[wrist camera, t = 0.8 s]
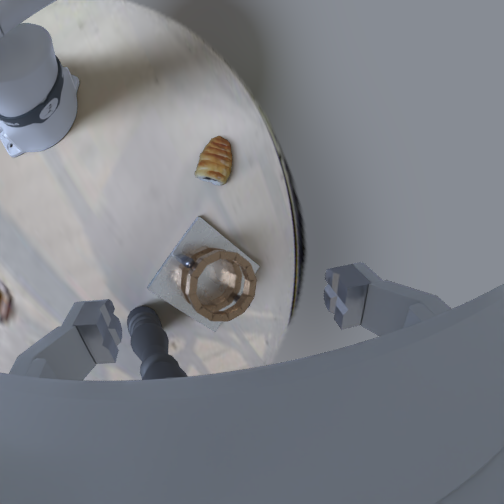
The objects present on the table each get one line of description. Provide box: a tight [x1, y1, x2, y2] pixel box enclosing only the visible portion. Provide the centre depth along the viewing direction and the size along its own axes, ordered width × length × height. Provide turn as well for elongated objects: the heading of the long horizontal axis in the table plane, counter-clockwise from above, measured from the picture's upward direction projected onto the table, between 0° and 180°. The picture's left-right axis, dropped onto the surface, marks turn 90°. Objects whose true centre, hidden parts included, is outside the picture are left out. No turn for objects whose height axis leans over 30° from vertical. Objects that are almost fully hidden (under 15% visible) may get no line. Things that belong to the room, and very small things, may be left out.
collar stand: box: [147, 217, 260, 332], centre depth 48 cm, size 16×16×10 cm
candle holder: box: [127, 306, 188, 380], centre depth 36 cm, size 6×6×25 cm
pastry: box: [195, 136, 232, 185], centre depth 49 cm, size 9×7×4 cm
